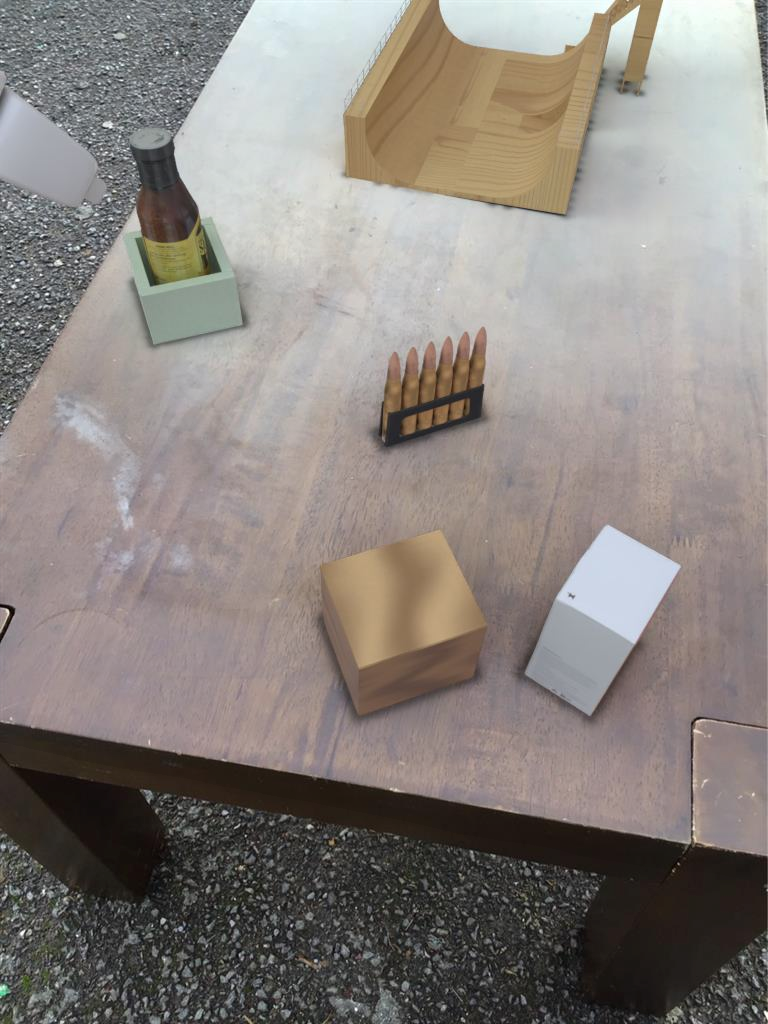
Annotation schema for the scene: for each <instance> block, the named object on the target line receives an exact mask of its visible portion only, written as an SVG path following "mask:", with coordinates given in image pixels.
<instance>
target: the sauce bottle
mask: <svg viewBox="0 0 768 1024" xmlns="http://www.w3.org/2000/svg"><path fill="white" fill-rule="evenodd" d="M173 138H174V137H173V136H172V133H171V132H170V131H169V130H167V129H164V128H161V127H145V128H142V129H139V130H136V131H135V132H134V133H133V134H131V136H130V137H129V139H128V142H129V147H130V153H131V155H132V157H133V159H134V160H135V163H136V167H137V171H138V175H139V177H138V180H139V182H140V184H141V186H140V189H139V192H138V194H137V197H136V201H135V210H136V214H137V219H138V223H139V225H140V230H141V235H142V238H143V242H144V246H145V249H146V253H147V257H148V261H149V264H150V268H151V272H152V276H153V279H154V283H155V286H157V285H162V284H166V283H171V282H176V281H181V280H186V279H191V278H196V277H201V276H205V275H210V274H211V270H210V265H209V259H208V254H207V249H206V244H205V238H204V234H203V229H202V224H201V219H202V218H201V214H200V210H199V205H198V204H197V202H196V200H195V199H194V197H193V196H192V194H191V193H190V191H189V189H188V188H187V186H186V184H185V183H184V181H183V179H182V178H181V176H180V172H179V170H178V169H179V168H178V166H177V160H176V156H175V150H176V146H175V143H174V142H175V141H174V139H173Z"/></svg>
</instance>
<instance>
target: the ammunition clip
mask: <svg viewBox="0 0 768 1024" xmlns="http://www.w3.org/2000/svg"><path fill="white" fill-rule="evenodd" d="M487 336H488V335H487V330H486V327H485V326H481V327H480V329H479V330H478V332H477V334H476V336H475V339H474V341H473V346H472V347H473V348H472V351H471V339H470V335H469V332H468V331H464V332H463V333H462V335H461V337H460V339H459V342H458V345H457V348H456V354H455V358H454V345H453V340H452V338H451V336H450V335H449V336H446V337H445V340H444V341H443V344H442V346H441V348H440V349H441V350H440V355H439V359H438V365H437V350H436V346H435V344H434V342H433V340H432V341H429V343H428V344H427V346H426V348H425V351H424V354H423V359H422V366H421V370H420V373H419V354H418V351H417V348H416V346H412V347H411V348H410V349H409V351H408V353H407V356H406V361H405V368H404V374H403V376H402V374H401V372H402V368H401V367H402V366H401V361H400V357H399V355H398V352H397V351H394V352H393V353H392V354H391V355H390V357H389V361H388V365H387V373H386V381H385V384H384V389H383V401H381V408H380V415H379V416H380V418H379V427H378V436H379V437H381V440H382V442H383V443H384V447H385V448H389V447H392V446H395V445H398V444H401V443H404V442H407V441H410V440H414V439H417V438H421V437H423V436H426V435H429V434H432V433H436V432H440V431H442V430H445V429H448V428H452V427H455V426H458V425H461V424H464V423H467V422H470V421H474V420H477V419H480V418H481V417H482V409H483V403H484V402H483V401H484V394H485V383H483V382H484V377H485V371H486V364H487V360H486V356H487V355H486V354H487V343H488V337H487ZM470 353H471V355H470Z"/></svg>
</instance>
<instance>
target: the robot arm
mask: <svg viewBox="0 0 768 1024" xmlns="http://www.w3.org/2000/svg"><path fill="white" fill-rule="evenodd" d="M6 83H7V75H6V74H5V73H4V72H3V71H2V70H0V180H1V181H3V182H5V183H7V184H10V185H12V186H15V187H17V188H19V189H22V190H24V191H26V192H29V193H31V194H34V195H36V196H38V197H41V198H43V199H46V200H48V201H51V202H53V203H55V204H59V205H60V206H65V207H69V208H78V207H79V206H80V205H82V203H83V201H84V200H86V201H88V202H90V203H91V204H93V205H99V204H100V203H101V202H102V201H103V198H104V197H105V194H106V192H107V191H108V185H107V183H106V182H105V181H104V180H102V179H101V178H99V177H97V176H96V175H97V173H98V170H99V164H98V161H97V159H96V158H95V157H94V156H93V155H92V154H91V153H90V152H89V150H87V149H86V148H85V147H84V146H83V145H81V144H80V143H79V142H78V141H77V140H76V139H74V138H73V137H72V136H71V135H70V134H68V133H67V132H65V131H64V130H63V129H62V128H61V127H60V126H58V125H57V124H56V123H54V122H53V121H52V120H50V118H48V117H47V116H45V114H43V113H42V112H41V111H39V109H37V108H35V107H34V105H32V104H30V103H29V102H28V101H27V100H26V99H24V98H23V97H22V96H20V95H19V94H18V93H16V92H15V91H14V90H13V89H11V88H10V87H9V86H7V85H6Z"/></svg>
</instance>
